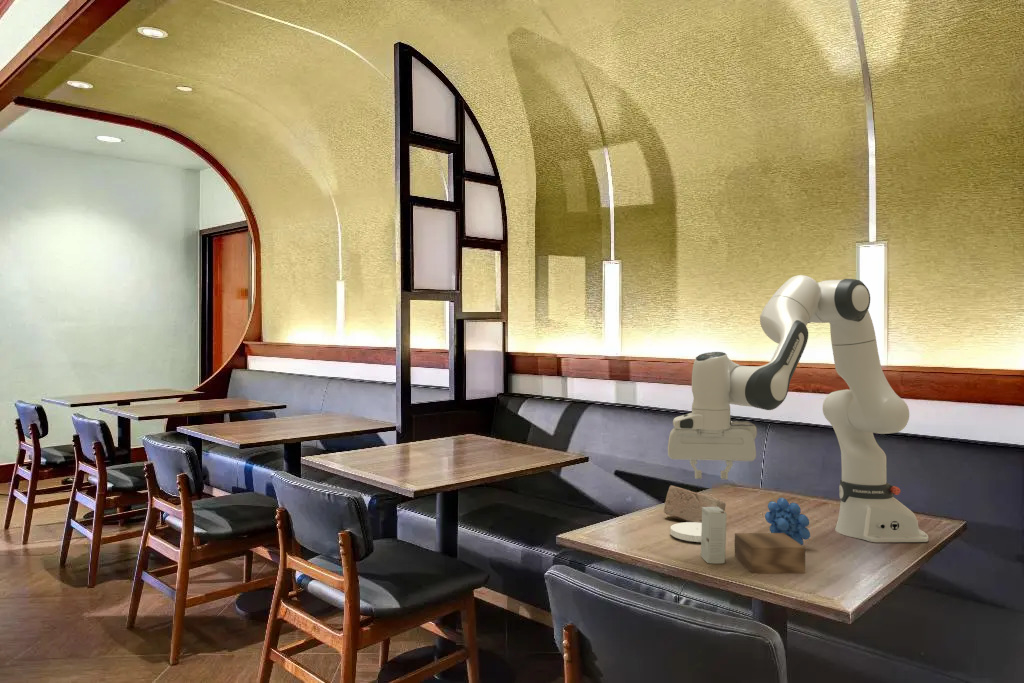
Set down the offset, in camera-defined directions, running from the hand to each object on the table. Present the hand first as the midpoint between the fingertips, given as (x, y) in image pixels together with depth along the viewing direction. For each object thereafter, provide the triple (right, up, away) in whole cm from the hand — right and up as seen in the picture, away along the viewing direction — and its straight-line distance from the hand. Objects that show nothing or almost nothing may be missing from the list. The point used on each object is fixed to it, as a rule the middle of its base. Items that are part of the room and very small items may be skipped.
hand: (711, 478), depth 172 cm
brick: (+4, -19, +33) cm, 39 cm away
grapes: (+22, -20, +11) cm, 32 cm away
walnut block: (+13, -20, -3) cm, 24 cm away
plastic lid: (+2, -20, +20) cm, 28 cm away
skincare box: (+1, -20, 0) cm, 20 cm away
